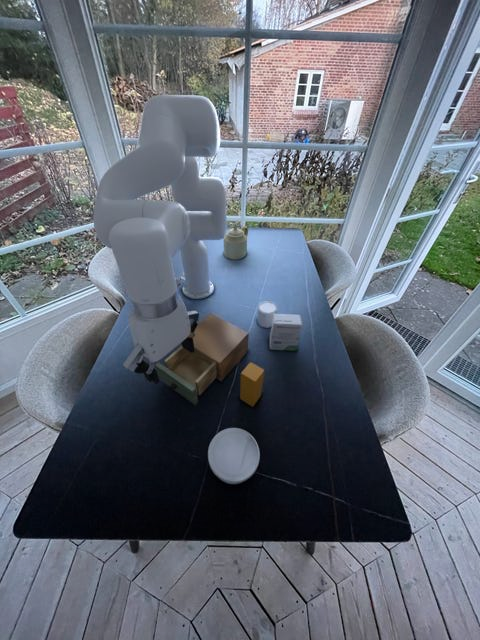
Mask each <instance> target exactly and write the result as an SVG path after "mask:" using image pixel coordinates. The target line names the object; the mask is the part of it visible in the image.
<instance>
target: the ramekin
mask: <svg viewBox="0 0 480 640" xmlns="http://www.w3.org/2000/svg"><path fill="white" fill-rule="evenodd" d="M207 449H208V450H207V459H208V465H209V467H210V469H211V471H212V472H213V474H214V475H215V476H216V477H217V478H218V479H219V480H221V482H224V483H226V484H228V485H229V484H230V485H238V484H241V483H243V482H245V481H247V480H248V479H250V478H252V476H253V475H254V474H255V473H256V471H257V469H258V467H259V464H260V460H261V459H260V458H261V457H260V456H261V453H260V448H259V445H258V442H257V441H256V439H255V437H254V436H253V435H252V434H251V433H250V432H248V431H247V430H245V429H242V428H240V427H239V428H238V427H228V428H225V429H223V430H220V431H219V432H217V434H215V435H214V437H213V438H212V439H211V441H210V443H209V446H208V448H207Z"/></svg>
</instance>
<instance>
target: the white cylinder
mask: <svg viewBox="0 0 480 640" xmlns="http://www.w3.org/2000/svg"><path fill="white" fill-rule="evenodd" d="M278 310H279V309H278V305H277V304H276V303H275V302H273V301H270V300H265V301H261V302H259V303H258V304H257V323H258V325H259V326H260V327H261V328H271V326H272V319H273V314H278Z"/></svg>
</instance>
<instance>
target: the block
mask: <svg viewBox="0 0 480 640" xmlns="http://www.w3.org/2000/svg"><path fill="white" fill-rule="evenodd" d="M264 377H265V369H264V368H262V367H260V366H259V365H257V364H256V363H253V362H251V361H250V362H249V363H248V364H247V366H245V368H244V369H243V370H242V372H241V373H240V385H239V386H240V388H239V389H240V390H239V399H240V400H241V401H243V402H244V403H246V404H248V405H249V406H251V407H252V408H254V406H255V405H256V403H257V402H258V400H259V399H260V398H261V396H262V390H263V385H264V384H263V383H264Z"/></svg>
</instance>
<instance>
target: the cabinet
mask: <svg viewBox="0 0 480 640" xmlns="http://www.w3.org/2000/svg"><path fill="white" fill-rule="evenodd" d="M197 323H198V325H197V327H196V329H195V331H194V333H195V336H194V338H193V342H194V349H195V350H196V351H198V352H200V353H201V354H203V355H205V356H206V357H208V358H210V359H211V360H213V361H215V362H216V363H218V374H219V375H218V376H217V377H216V378H215V379H217V380H218V381H220V382H222V381H223V380H224V379H225V378H226V377H227V375H228V374H229V373H231V371H232V370H233V369H234V367H235V366H236V365H237V364H238V363H240V361H241V360H242V359H243V358H244V357H245V355H246V354H247V353H248V351H249V335H250V332H248V331H246V330H245V329H242V328H241V327H238V326H237V325H234V324H232V323H230V322H229V321H226V320H225V319H223V318H221V317H219V316H217V315H216V314H214V313H212V312H210V313H209V314H208V315H206V316H205V317H204V318H203V319H202V320H201V321H199V322H197ZM181 346H182V343H180V347H181Z"/></svg>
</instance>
